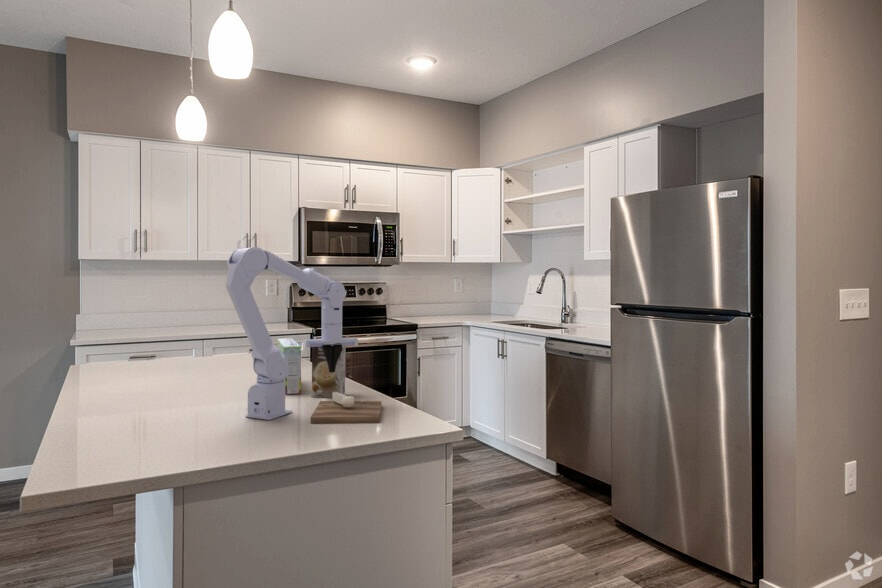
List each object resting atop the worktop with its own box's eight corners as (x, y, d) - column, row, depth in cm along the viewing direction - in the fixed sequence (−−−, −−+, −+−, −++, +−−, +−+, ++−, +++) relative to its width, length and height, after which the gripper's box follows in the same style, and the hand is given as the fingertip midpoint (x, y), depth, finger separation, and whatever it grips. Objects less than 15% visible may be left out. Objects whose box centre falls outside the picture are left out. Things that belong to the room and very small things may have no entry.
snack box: (276, 382, 198) (276, 338, 198) (293, 381, 200) (293, 337, 200) (283, 395, 178) (283, 345, 178) (302, 394, 180) (302, 345, 180)
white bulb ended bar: (356, 406, 155) (356, 397, 155) (345, 407, 153) (345, 398, 153) (338, 399, 163) (338, 391, 163) (328, 400, 161) (328, 392, 161)
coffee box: (310, 397, 176) (310, 343, 175) (317, 393, 182) (317, 341, 181) (340, 398, 175) (340, 344, 174) (346, 393, 181) (346, 341, 180)
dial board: (379, 422, 147) (379, 415, 147) (310, 423, 146) (310, 416, 146) (381, 406, 165) (381, 400, 165) (320, 406, 164) (320, 400, 164)
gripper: (354, 321, 171) (354, 368, 172) (303, 322, 166) (303, 370, 167) (359, 323, 165) (359, 372, 165) (307, 325, 160) (307, 374, 160)
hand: (331, 371), depth 166 cm, fingers closed
